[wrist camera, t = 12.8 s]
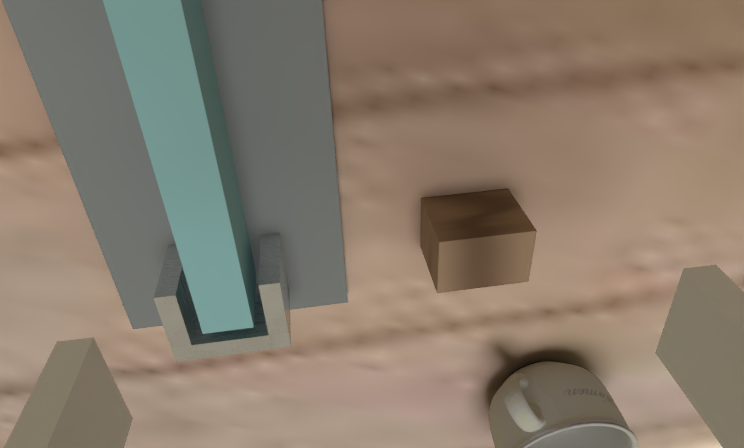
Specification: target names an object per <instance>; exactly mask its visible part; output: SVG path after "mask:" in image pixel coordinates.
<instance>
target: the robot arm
mask: <svg viewBox="0 0 744 448" xmlns="http://www.w3.org/2000/svg"><path fill="white" fill-rule="evenodd" d="M655 353H656V354H657V356H658V357H659V358H660V360H661V361H662V363H663V364H664V365H665V367H666V368H667V370H668V371H669V372H670V374H671V375H672V377H673V378H674V380H675V381H676V382H677V384H678V385H679V387H680V388H681V389H682V391H683V392H684V394H685V395H686V396H687V398H688V399H689V401H690V402H691V403H692V405H693V406H694V408H695V409H696V410H697V412H698V413H699V415H700V416H701V417H702V419H703V420H704V422H705V423H706V424H707V426H708V427H709V429H710V430H711V431H712V433H713V434H714V436H715V437H716V439H717V440H718V441H719V443H720V444H721V446H722V447H723V448H744V292H743V291H742V290H741V289H740V288H739V287H738V286H737V285H736V284H735V283H734V282H733V281H732V280H731V279H730V278H729V277H728V276H727V275H726V274H725V273H724V272H723V271H722V270H721V269H720V268H719V267H718V266H717V265H710V266H701V267H693V268H684V269H683V272H682V275H681V278H680V281H679V284H678V287H677V290H676V293H675V296H674V299H673V302H672V305H671V308H670V311H669V314H668V317H667V320H666V323H665V326H664V329H663V332H662V335H661V338H660V340H659V343H658V346H657V349H656V352H655ZM132 419H133V418H132V416H131V414H130V412H129V410H128V408H127V406H126V404H125V401H124V399H123V397H122V395H121V393H120V391H119V389H118V387H117V385H116V383H115V381H114V379H113V377H112V375H111V372H110V370H109V368H108V366H107V364H106V362H105V360H104V358H103V356H102V354H101V352H100V350H99V348H98V346H97V343H96V341H95V339H94V338H85V339H77V340H68V341H59V342H57V343H56V345H55V347H54V349H53V351H52V353H51V355H50V357H49V359H48V361H47V363H46V365H45V367H44V369H43V371H42V373H41V375H40V377H39V379H38V381H37V383H36V385H35V387H34V389H33V391H32V393H31V395H30V397H29V399H28V401H27V403H26V405H25V407H24V409H23V411H22V413H21V415H20V417H19V419H18V421H17V423H16V425H15V427H14V429H13V431H12V433H11V435H10V437H9V439H8V441H7V443H6V445H5V447H4V448H124V446H125V442H126V439H127V436H128V432H129V429H130V425H131V422H132Z"/></svg>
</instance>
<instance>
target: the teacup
mask: <svg viewBox="0 0 744 448" xmlns="http://www.w3.org/2000/svg"><path fill="white" fill-rule="evenodd" d="M489 423H490V429H491V433H492V437H493V441H494V445H495V448H638V442H637V439H636V436H635V435H634V433H633V432H632V431H631V430H630V429H629V427H628V425H627V424H626V422H625V420H624V418H623V416H622V414H621V413H620V411H619V409H618V407H617V406H616V404H615V402H614V400H613V399H612V397H611V395H610V394H609V392H608V391H607V389H606V388H605V386H604V385H603V384H602V382H601V381H600V380H599V379H598V378H597V377H596V376H595V375H594V374H592V373H591V372H589V371H588V370H586V369H584V368H582V367H579V366H576V365H572V364H565V363H560V362H551V361H547V362H539V363H535V364H531V365H528V366H526V367H523V368H521V369H519V370H518V371H516V372H515V373H513V374H512V375H511V376H510V377H508V378H507V380H506V381H505V382H504V383H503V385H502V386H501V387H500V388H499V389H498V391H497V392H496V393H495V395H494V397H493V399H492V401H491V404H490V409H489Z"/></svg>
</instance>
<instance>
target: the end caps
mask: <svg viewBox="0 0 744 448" xmlns="http://www.w3.org/2000/svg"><path fill="white" fill-rule="evenodd" d="M154 301H155V304H156V307H157V310H158V312H159V315H160V318H161V321H162V324H163V326H164V329H165V332H166V335H167V338H168V341H169V343H170V346H171V349H172V352H173V355H174V358H175V360H176V362H177V361H185V360H192V359H200V358H207V357H215V356H223V355H230V354H238V353H245V352H253V351H261V350H268V349H276V348H283V347H291V331H290V294H289V287H288V281H287V275H286V269H285V263H284V257H283V251H282V245H281V239H280V233H273V234H264V235H261V240H260V262H259V284H256V292H255V313H254V327H253V328H245V329H238V330H230V331H222V332H214V333H206V334H203V333H202V330H201V327H200V323H199V320H198V317H197V313H196V310H195V307H194V303H193V300H192V296H191V293H190V290H189V286H188V283H187V280H186V276H185V273H184V270H183V266H182V263H181V260H180V256H179V253H178V250H177V246H176V244H175V245H168V247H167V251H166V255H165V258H164V262H163V265H162V269H161V273H160V276H159V280H158V284H157V287H156V291H155V294H154Z"/></svg>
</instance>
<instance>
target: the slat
mask: <svg viewBox="0 0 744 448" xmlns="http://www.w3.org/2000/svg"><path fill="white" fill-rule="evenodd" d="M103 3H104V6H105V9H106V13H107V16H108V19H109V23H110V26H111V29H112V33H113V36H114V39H115V43H116V46H117V49H118V53H119V56H120V59H121V63H122V66H123V70H124V73H125V76H126V80H127V83H128V86H129V90H130V93H131V96H132V100H133V103H134V106H135V110H136V113H137V116H138V120H139V123H140V126H141V130H142V133H143V136H144V140H145V143H146V146H147V150H148V153H149V156H150V160H151V163H152V166H153V170H154V173H155V176H156V180H157V183H158V186H159V190H160V193H161V196H162V200H163V203H164V206H165V210H166V213H167V216H168V220H169V223H170V226H171V230H172V233H173V236H174V240H175V243H176V246H177V250H178V253H179V256H180V260H181V263H182V266H183V270H184V273H185V276H186V280H187V283H188V286H189V290H190V293H191V296H192V300H193V303H194V307H195V310H196V313H197V317H198V320H199V323H200V327H201V330H202V333H203V334H206V333H214V332H222V331H230V330H238V329H245V328H253V327H254V313H255V292H256V270H255V265H254V260H253V255H252V251H251V246H250V241H249V236H248V231H247V226H246V221H245V216H244V211H243V206H242V202H241V197H240V192H239V187H238V182H237V177H236V172H235V167H234V162H233V157H232V153H231V148H230V143H229V138H228V133H227V128H226V123H225V118H224V113H223V108H222V103H221V99H220V94H219V89H218V84H217V79H216V74H215V69H214V64H213V59H212V54H211V50H210V45H209V40H208V35H207V30H206V25H205V20H204V15H203V10H202V5H201V1H200V0H103Z"/></svg>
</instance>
